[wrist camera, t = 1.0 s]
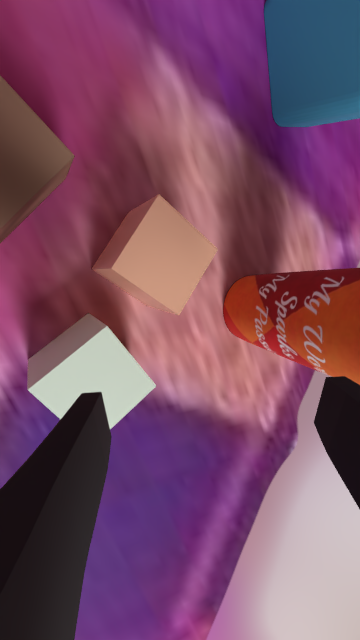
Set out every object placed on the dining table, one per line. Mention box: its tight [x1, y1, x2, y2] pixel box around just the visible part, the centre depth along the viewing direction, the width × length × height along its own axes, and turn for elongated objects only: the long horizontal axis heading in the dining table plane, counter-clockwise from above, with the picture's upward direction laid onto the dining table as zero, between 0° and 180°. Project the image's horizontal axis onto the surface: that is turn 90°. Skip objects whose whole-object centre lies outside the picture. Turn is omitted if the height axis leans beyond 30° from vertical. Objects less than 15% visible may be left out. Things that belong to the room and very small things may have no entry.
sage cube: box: [28, 313, 156, 429], centre depth 16 cm, size 4×4×5 cm
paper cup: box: [223, 268, 360, 385], centre depth 18 cm, size 8×8×14 cm
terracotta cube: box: [92, 194, 218, 315], centre depth 17 cm, size 4×4×5 cm
